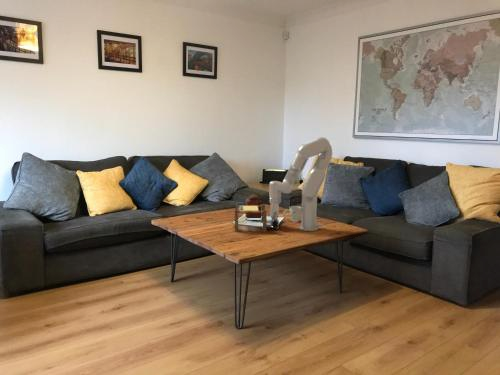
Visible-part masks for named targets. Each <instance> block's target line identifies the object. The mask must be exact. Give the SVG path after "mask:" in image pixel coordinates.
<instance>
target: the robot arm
mask: <svg viewBox="0 0 500 375" xmlns="http://www.w3.org/2000/svg"><path fill="white" fill-rule="evenodd" d="M314 156H315V157H316V156H317V157H316V159H315V161H314V163H313V165H312V167H311V169H310V171H309V175H308V177H307V179H306V181H305V182H303V184H302V185H301V186H302V187H301V207H302V209H301V217H300V220H301V223H300V224H301V225H299V226H298V229H299V230H301V231H304V232H305V231H307V232H313V231H314V232H315V231H318V230H319V227H324V223H323V222H322V223H321V222H317V212H318V211H317V209H318V207H317V206H318V194H319V191H320V190H321V187H322V185H323V183H324V181H325V178H326V175H327V174H326V172H327V169H328V167H329V166H330V162H331V161H332V157H333V149H332V144H331V143H330V141H329V140H328V138H326V137H318V138H317V139H316V140H314V141H311V142H309V143H306V144H301V145H300V146H299V147H298V148H297V151H296V153H295V155H294V157H293V159H292V161H291V163H290V166H289V168H288V171H287V173H286V175H285V176H284V178H283V181H278V180H272V181H270V182H269V189H268V190H269V193H268V194H269V197H268V198H269V199H268V202H269V204H270V208H269V216H270V218H271V219H273V228H278V221H279V219H278V218H279V215H280V214H279V213H280V210H279V209H280V203H282V202H281V201H282V193H283V194H290V193H291V192H292V191H293V189H294V188H293V187H294V185H295V183H296V182H297V179H298V177H299V175H301V173H302V172H303V170H304V169H305V166H306V165H307V162H308V161H309V158H312V157H314ZM277 219H278V220H277Z"/></svg>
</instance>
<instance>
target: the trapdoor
mask: <svg viewBox="0 0 500 375" xmlns="http://www.w3.org/2000/svg"><path fill="white" fill-rule="evenodd" d="M239 205H240V207H239V211H259V210H258V206H242V205H241V204H239Z"/></svg>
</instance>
